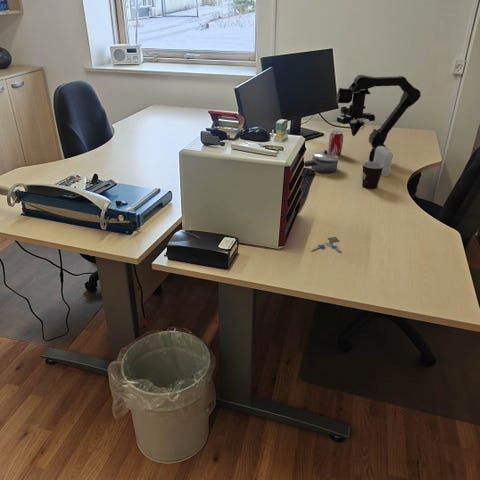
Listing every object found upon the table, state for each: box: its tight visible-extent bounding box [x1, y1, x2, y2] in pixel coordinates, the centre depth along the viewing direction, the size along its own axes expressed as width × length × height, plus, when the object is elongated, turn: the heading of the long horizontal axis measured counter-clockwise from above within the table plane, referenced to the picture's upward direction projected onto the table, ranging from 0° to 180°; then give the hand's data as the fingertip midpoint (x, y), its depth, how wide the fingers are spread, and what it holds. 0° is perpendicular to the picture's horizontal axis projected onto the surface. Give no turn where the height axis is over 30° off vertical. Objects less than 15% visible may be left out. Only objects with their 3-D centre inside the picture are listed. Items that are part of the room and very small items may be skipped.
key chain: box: [310, 236, 342, 253], centre depth 148 cm, size 14×8×1 cm, turn 141°
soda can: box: [327, 130, 344, 157], centre depth 229 cm, size 7×7×12 cm
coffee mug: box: [361, 161, 383, 190], centre depth 193 cm, size 12×9×10 cm
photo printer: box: [373, 146, 394, 177], centre depth 207 cm, size 10×4×12 cm, turn 17°
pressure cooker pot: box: [304, 156, 339, 175], centre depth 211 cm, size 18×12×5 cm, turn 113°
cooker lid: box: [312, 149, 340, 162], centre depth 210 cm, size 12×12×2 cm
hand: (353, 135), depth 217 cm, fingers closed
